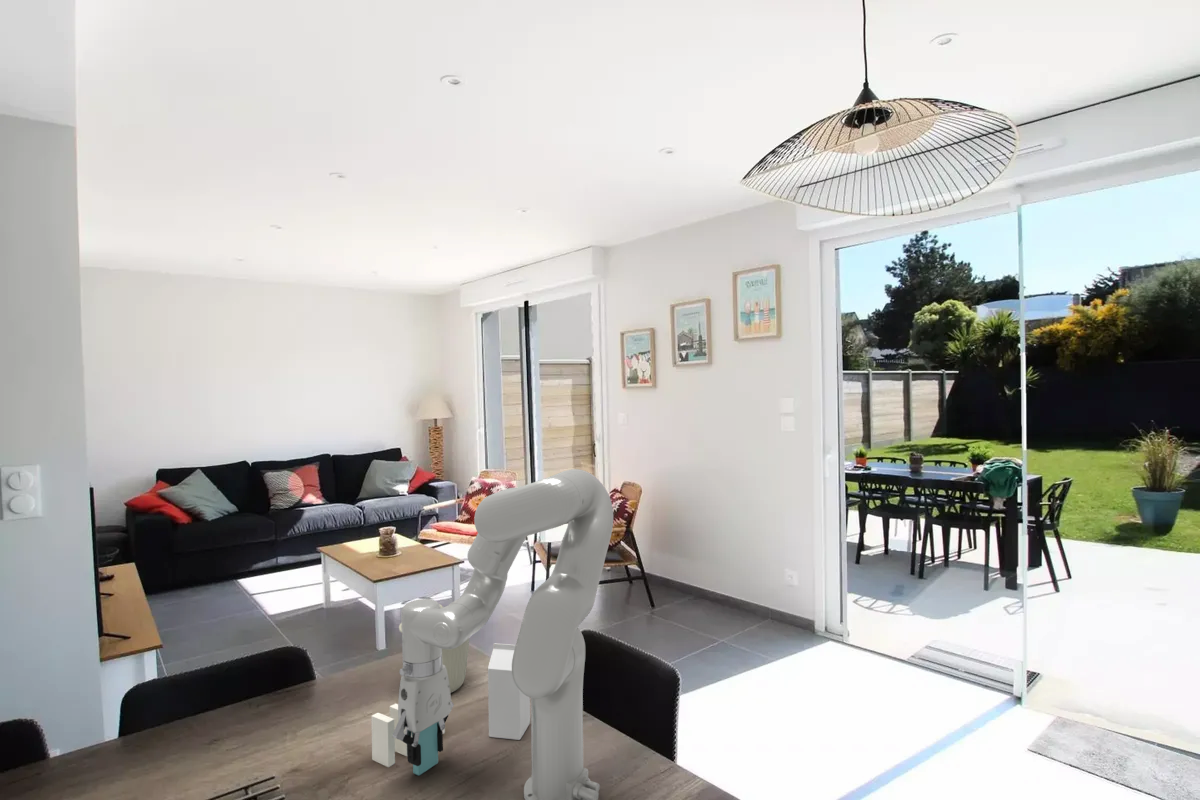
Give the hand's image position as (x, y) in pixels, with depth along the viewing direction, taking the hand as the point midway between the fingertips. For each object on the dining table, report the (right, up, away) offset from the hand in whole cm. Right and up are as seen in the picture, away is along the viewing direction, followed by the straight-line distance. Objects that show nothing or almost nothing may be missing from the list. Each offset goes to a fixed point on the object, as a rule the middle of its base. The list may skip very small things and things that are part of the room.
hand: (425, 755), depth 128 cm
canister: (-6, -2, +35) cm, 36 cm away
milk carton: (+15, -3, +14) cm, 21 cm away
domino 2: (-7, -3, +7) cm, 10 cm away
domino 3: (0, -3, 0) cm, 3 cm away
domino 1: (-9, -3, +3) cm, 10 cm away
